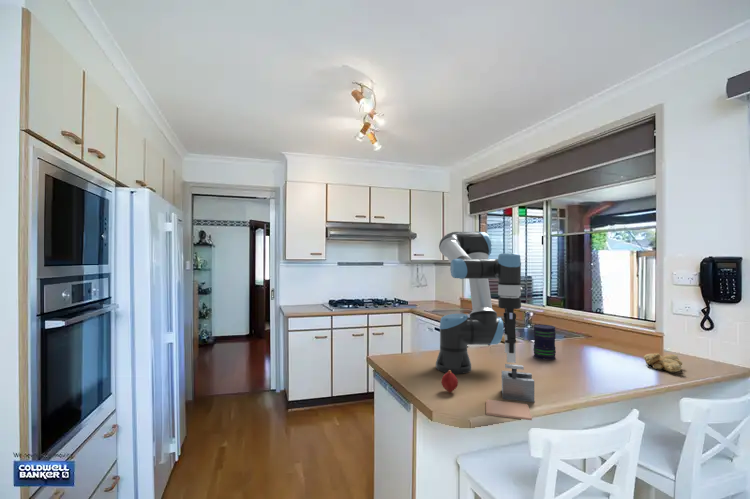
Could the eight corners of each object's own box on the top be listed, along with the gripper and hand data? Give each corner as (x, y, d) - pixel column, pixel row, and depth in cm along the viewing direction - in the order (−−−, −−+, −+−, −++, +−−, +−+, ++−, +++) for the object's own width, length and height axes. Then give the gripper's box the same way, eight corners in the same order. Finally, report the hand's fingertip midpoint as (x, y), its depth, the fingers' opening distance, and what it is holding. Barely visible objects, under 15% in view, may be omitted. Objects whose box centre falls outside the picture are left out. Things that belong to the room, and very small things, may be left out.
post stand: (505, 395, 128) (505, 365, 128) (505, 393, 130) (504, 363, 130) (523, 397, 126) (523, 367, 126) (523, 394, 128) (523, 364, 129)
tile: (486, 414, 112) (486, 412, 112) (486, 401, 123) (486, 399, 123) (531, 420, 108) (531, 418, 108) (527, 406, 119) (527, 404, 119)
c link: (502, 398, 125) (502, 378, 125) (501, 389, 133) (501, 370, 134) (534, 402, 122) (534, 381, 122) (531, 392, 131) (531, 373, 131)
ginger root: (647, 358, 172) (651, 342, 171) (688, 375, 159) (694, 358, 158) (632, 364, 164) (636, 348, 162) (674, 383, 151) (680, 365, 149)
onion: (439, 389, 133) (439, 367, 133) (455, 389, 134) (455, 367, 134) (443, 395, 127) (443, 372, 128) (460, 395, 128) (460, 372, 128)
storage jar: (554, 361, 171) (554, 329, 172) (531, 357, 177) (531, 326, 177) (557, 356, 180) (556, 325, 180) (535, 353, 185) (535, 323, 185)
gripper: (524, 300, 116) (525, 368, 116) (517, 294, 140) (518, 349, 139) (499, 299, 118) (500, 365, 118) (497, 293, 142) (497, 348, 142)
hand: (509, 357), depth 129 cm, fingers open, 13 cm apart
